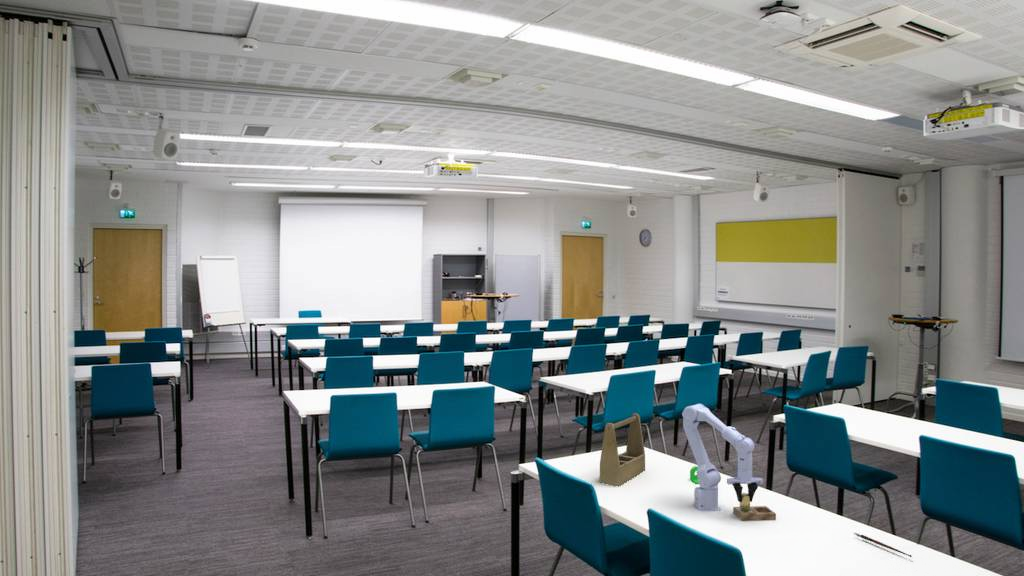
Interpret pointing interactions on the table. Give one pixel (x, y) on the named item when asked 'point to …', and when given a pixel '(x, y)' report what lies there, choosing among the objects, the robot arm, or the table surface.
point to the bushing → (745, 502)
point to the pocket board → (755, 513)
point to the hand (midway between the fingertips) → (744, 501)
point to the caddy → (627, 463)
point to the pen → (879, 543)
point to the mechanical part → (692, 475)
